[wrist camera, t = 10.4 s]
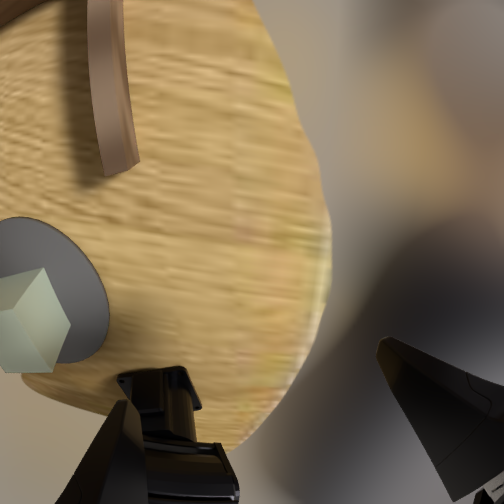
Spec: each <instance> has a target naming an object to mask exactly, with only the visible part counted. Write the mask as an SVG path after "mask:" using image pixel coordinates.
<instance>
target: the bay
mask: <svg viewBox="0 0 504 504" xmlns="http://www.w3.org/2000/svg"><path fill="white" fill-rule="evenodd" d="M45 1H47V0H0V27H1V26H2V25H4V24H6V23H7V22H9V21H10V20H12V19H14V18H15V17H17V16H19V15H20V14H22V13H24V12H26V11H27V10H29V9H31V8H33V7H35V6H37V5H39V4H41V3H43V2H45ZM87 41H88V63H89V76H90V87H91V96H92V105H93V112H94V120H95V126H96V133H97V139H98V144H99V150H100V155H101V160H102V165H103V170H104V175H105V176H108V175H112V174H116V173H120V172H123V171H127V170H129V169H130V168H132V167H133V166H135V165H136V164H137V163H139V162H140V159H139V154H138V148H137V142H136V136H135V130H134V124H133V117H132V110H131V102H130V94H129V86H128V77H127V67H126V55H125V41H124V22H123V0H88V6H87Z"/></svg>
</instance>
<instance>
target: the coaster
mask: <svg viewBox="0 0 504 504" xmlns="http://www.w3.org/2000/svg"><path fill="white" fill-rule="evenodd" d="M43 267H44V269H45V271H46V274H47V276H48V278H49V281H50V283H51V285H52V288H53V290H54V292H55V294H56V296H57V298H58V300H59V303H60V305H61V307H62V309H63V311H64V313H65V315H66V317H67V318H68V320H69V322H70V324H71V326H70V328H69V331H68V333H67V335H66V338H65V340H64V343H63V345H62V348H61V350H60V353H59V356H58V358H57V361H56V363H74V362H78V361H82V360H84V359H86V358H88V357H90V356H91V355H93V354H94V353H95V352H96V351H97V350H98V349H99V348H100V346H101V345H102V343H103V342H104V339H105V337H106V334H107V330H108V326H109V316H110V313H109V304H108V299H107V295H106V292H105V289H104V286H103V283H102V281H101V279H100V277H99V275H98V273H97V271H96V270H95V268H94V266H93V265H92V263H91V262H90V260H89V259H88V258H87V256H86V255H85V254H84V253H83V251H82V250H81V249H80V248H79V247H78V246H77V245H76V244H75V243H74V242H73V241H72V240H71V239H70V238H69V237H67V236H66V235H65V234H63V233H62V232H61V231H59V230H58V229H56V228H54V227H53V226H51V225H49V224H47V223H45V222H42V221H40V220H37V219H33V218H29V217H11V218H8V219H4V220H2V221H0V278H4V277H8V276H11V275H15V274H19V273H23V272H27V271H31V270H35V269H39V268H43Z"/></svg>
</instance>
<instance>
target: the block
mask: <svg viewBox="0 0 504 504" xmlns="http://www.w3.org/2000/svg"><path fill="white" fill-rule="evenodd" d="M70 326H71V324H70V322H69V320H68V318H67V317H66V315H65V313H64V311H63V309H62V307H61V305H60V303H59V300H58V298H57V296H56V294H55V292H54V290H53V288H52V285H51V283H50V281H49V278H48V276H47V274H46V271H45V269H44V267H43V268H39V269H35V270H31V271H27V272H23V273H19V274H15V275H11V276H8V277H4V278H0V366H1V367H2V369H3V370H4V371H5V373H46V372H53V369H54V367H55V364H56V361H57V358H58V356H59V353H60V350H61V348H62V345H63V343H64V340H65V338H66V335H67V333H68V331H69V328H70Z"/></svg>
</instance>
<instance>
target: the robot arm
mask: <svg viewBox="0 0 504 504" xmlns="http://www.w3.org/2000/svg"><path fill="white" fill-rule="evenodd" d="M376 359H377V361H378V363H379V366H380V368H381V370H382V372H383V374H384V376H385V378H386V381H387V383H388V385H389V387H390V389H391V391H392V393H393V395H394V396H395V398H396V400H397V401H398V403H399V405H400V407H401V408H402V410H403V412H404V413H405V415H406V417H407V418H408V420H409V422H410V424H411V425H412V427H413V429H414V431H415V432H416V434H417V436H418V438H419V440H420V441H421V443H422V445H423V446H424V448H425V450H426V452H427V454H428V456H429V457H430V459H431V461H432V463H433V465H434V467H435V469H436V471H437V473H438V474H439V476H440V478H441V480H442V482H443V484H444V486H445V488H446V490H447V492H448V494H449V496H450V498H451V500H452V501H453V502H455V501H457V500H459V499H461V498H463V497H464V496H466V495H468V494H470V493H471V492H473V491H475V490H476V489H478V488H479V487H481V486H483V488H482V489H481V490H479V491H478V492H477V493H476V495H475V499H474V502H473V504H504V386H502V385H499V384H496V383H493V382H490V381H487V380H484V379H482V378H479V377H477V376H475V375H472V374H470V373H468V372H465V371H464V370H461V369H459V368H457V367H455V366H453V365H450V364H448V363H446V362H444V361H442V360H440V359H438V358H436V357H433V356H431V355H429V354H427V353H425V352H423V351H421V350H419V349H416V348H414V347H412V346H410V345H408V344H406V343H404V342H402V341H399V340H397V339H395V338H393V337H391V336H388V337H385V338H383V339H381V340H380V341H379V344H378V348H377V353H376ZM117 383H118V384H119V386H120V387H121V388H122V390H123V391H124V393H125V394H126V396H127V397H128V399H129V400H127V399H126V400H118V401H117V402H116V404H115V405H114V407H113V409H112V410H111V412H110V413H109V415H108V417H107V418H106V420H105V422H104V423H103V425H102V427H101V428H100V430H99V432H98V433H97V435H96V436H95V438H94V440H93V441H92V443H91V445H90V447H89V449H88V450H87V452H86V453H85V455H84V457H83V458H82V460H81V462H80V464H79V466H78V467H77V469H76V471H75V472H74V475H73V476H72V478H71V479H70V481H69V483H68V484H67V486H66V488H65V489H64V491H63V493H62V494H61V495H60V497H59V498H58V500H57V501H56V502H55V504H238V502H239V496H240V492H239V491H240V490H239V484H238V480H237V477H236V475H235V473H234V471H233V469H232V467H231V465H230V463H229V460H228V459H227V456H226V454H225V452H224V449H223V447H222V445H221V443H215V442H214V443H202V442H197V438H196V430H195V422H194V413H193V411H197V410H201V409H202V404H201V401H200V399H199V397H198V395H197V393H196V390H195V388H194V386H193V384H192V381H191V379H190V377H189V374H188V372H187V369H186V368H184V367H174V368H167V369H160V370H153V371H146V372H138V373H129V374H120V375H118V376H117Z"/></svg>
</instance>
